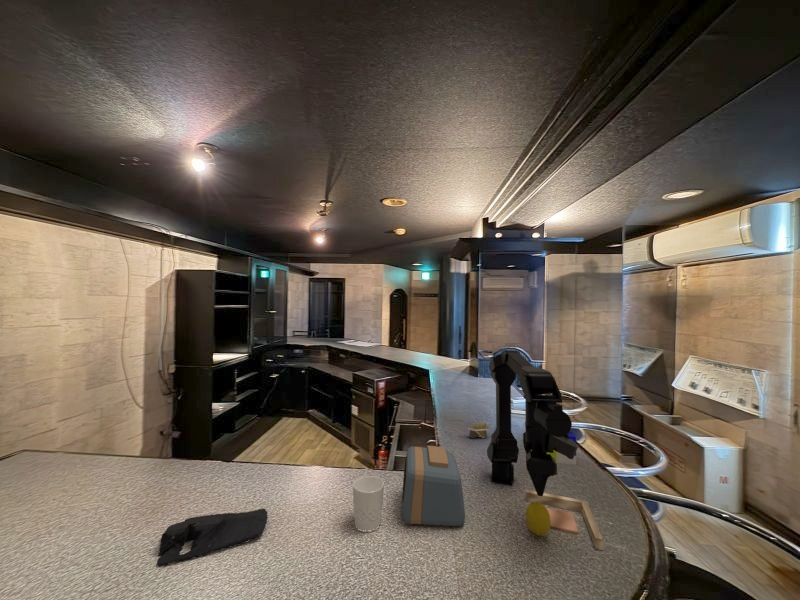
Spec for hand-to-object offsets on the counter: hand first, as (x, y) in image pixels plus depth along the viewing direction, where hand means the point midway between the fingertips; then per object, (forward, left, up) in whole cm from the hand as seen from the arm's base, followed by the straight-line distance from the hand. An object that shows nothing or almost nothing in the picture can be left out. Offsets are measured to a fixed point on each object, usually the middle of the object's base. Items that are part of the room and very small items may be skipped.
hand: (538, 485), depth 77 cm
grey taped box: (-27, +1, -12) cm, 30 cm away
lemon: (0, 0, -12) cm, 12 cm away
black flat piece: (-73, -28, -13) cm, 79 cm away
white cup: (-41, -11, -12) cm, 44 cm away
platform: (-19, +58, -13) cm, 62 cm away
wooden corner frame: (+6, +8, -12) cm, 15 cm away
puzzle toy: (+11, +50, -12) cm, 53 cm away
